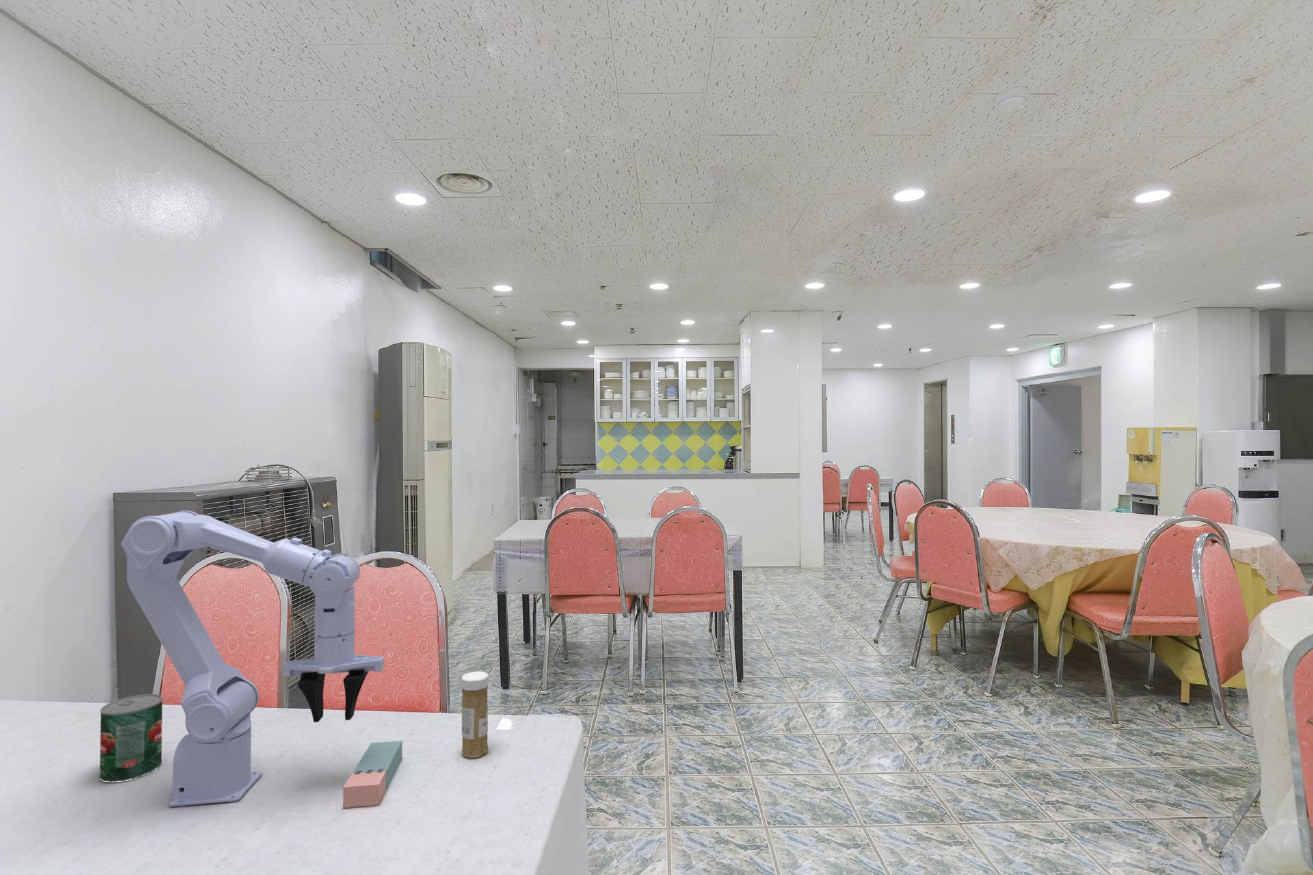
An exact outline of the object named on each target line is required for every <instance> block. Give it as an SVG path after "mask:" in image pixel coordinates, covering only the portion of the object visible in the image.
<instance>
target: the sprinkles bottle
mask: <svg viewBox="0 0 1313 875" xmlns="http://www.w3.org/2000/svg"><path fill="white" fill-rule="evenodd" d="M489 680H490V679H489V673H487V672H485V671H472V672H471V671H470V672H468V673H465V674H463V675H462V676H461V682H460V685H461V686H460V687H461V691H462V692H461V694H462V696H461V698H462V701H461V703H462V704H461V737H462V739H461V740H462V741H461V742H462V746H461V747H462V750H461V755H462V756H463V757H464V758H468V759H477V758H481V757H483V756H485V755H486V754H487V753H488V751H489V745H488V743H489V742H488V739H489V738H488V732H489V728H488V727H489V723H488V722H489V721H488V719H489V718H488V717H489V716H488V714H489V712H488V709H489V708H488V707H489V706H488V687H489V682H490V681H489Z"/></svg>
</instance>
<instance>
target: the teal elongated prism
mask: <svg viewBox="0 0 1313 875" xmlns="http://www.w3.org/2000/svg"><path fill="white" fill-rule="evenodd" d="M402 760H403V740H395V741H393V740H392V741H391V740H390V741H379V742H378V741H377V742H371V743H370V744H369V746H368V748H367V749H366V750H365V752H364V754H363V755H362V757H361V759H360V761H358V764H357V765H356V767H355V768H354V769H353V771H352V773H363V772H376V771H386V791H387V790H388V788H389V786H390V784H391V782H392V779H393V778H394V776H395V774H396V771H397V770H398V768H399V766H400V764H401V761H402Z"/></svg>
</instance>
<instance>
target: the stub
mask: <svg viewBox="0 0 1313 875" xmlns="http://www.w3.org/2000/svg"><path fill="white" fill-rule="evenodd" d="M386 791H387V790H386V771H376V772H363V773H353V772H352V773H351V774H350V775H349V777H348V779H347V780H346V782H345V784H344V785H343V786H342V809H346V808H347V809H348V808H359V807H368V806H378V805H380V803H381V802H382V799H383V797H384V795H385V793H386Z"/></svg>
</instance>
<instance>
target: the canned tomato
mask: <svg viewBox="0 0 1313 875" xmlns="http://www.w3.org/2000/svg"><path fill="white" fill-rule="evenodd" d="M163 699H164V698H163V696H162V695H160V694H154V693H153V694H151V693H147V694H138V695H133V696H127V697H124V698H123V697H122V698H120V699H117V700H114V701H112V702H108V703H106V704H105V705H103V706H102V707H101V708H100V712H99V713H100V722H99V723H100V725H99V726H100V730H99V733H100V736H99V739H100V740H99V743H100V745H99V748H100V749H99V750H100V751H99V754H100V755H99V777H100V779H102V780H103V781H109V782H113V781H114V782H116V781H125V780H129V779H134V780H136V779H135V778H137V777H141V776H143V775H145V774H147V773H150V772H152V771H154V770H155V769H156V768H158V767H159V766H160V765H161V766H162V764H163V760H162V755H163V754H162V753H163V752H162V751H163V750H162V749H163V747H162V746H163V745H162V744H163V736H162V735H163ZM161 763H162V764H161ZM161 766H160V767H161ZM160 767H159V768H160ZM159 768H158V769H159ZM155 771H156V770H155ZM155 771H154V772H155ZM152 773H153V772H152ZM150 774H151V773H150ZM143 777H144V776H143ZM141 778H142V777H141ZM100 779H99V780H100Z"/></svg>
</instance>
